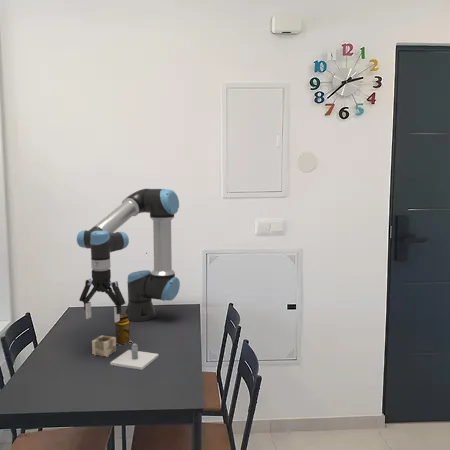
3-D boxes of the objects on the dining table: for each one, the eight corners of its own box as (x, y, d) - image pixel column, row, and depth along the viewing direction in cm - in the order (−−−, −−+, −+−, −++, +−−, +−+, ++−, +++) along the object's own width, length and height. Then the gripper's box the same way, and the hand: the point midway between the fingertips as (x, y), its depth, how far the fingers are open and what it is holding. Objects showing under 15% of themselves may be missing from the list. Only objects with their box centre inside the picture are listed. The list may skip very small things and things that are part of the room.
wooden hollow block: (101, 348, 223) (101, 334, 222) (116, 350, 220) (115, 336, 219) (92, 354, 216) (91, 340, 215) (107, 357, 214) (106, 342, 213)
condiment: (133, 342, 230) (132, 316, 228) (114, 346, 225) (113, 319, 223) (126, 337, 236) (125, 312, 234) (108, 341, 231) (107, 315, 229)
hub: (128, 352, 219) (127, 335, 218) (158, 356, 214) (158, 339, 213) (110, 365, 206) (109, 347, 205) (142, 369, 201) (141, 352, 200)
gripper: (69, 268, 214) (71, 319, 217) (123, 273, 205) (124, 325, 208) (80, 265, 221) (82, 314, 224) (132, 269, 212) (134, 320, 215)
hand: (102, 319), depth 216 cm, fingers open, 13 cm apart
